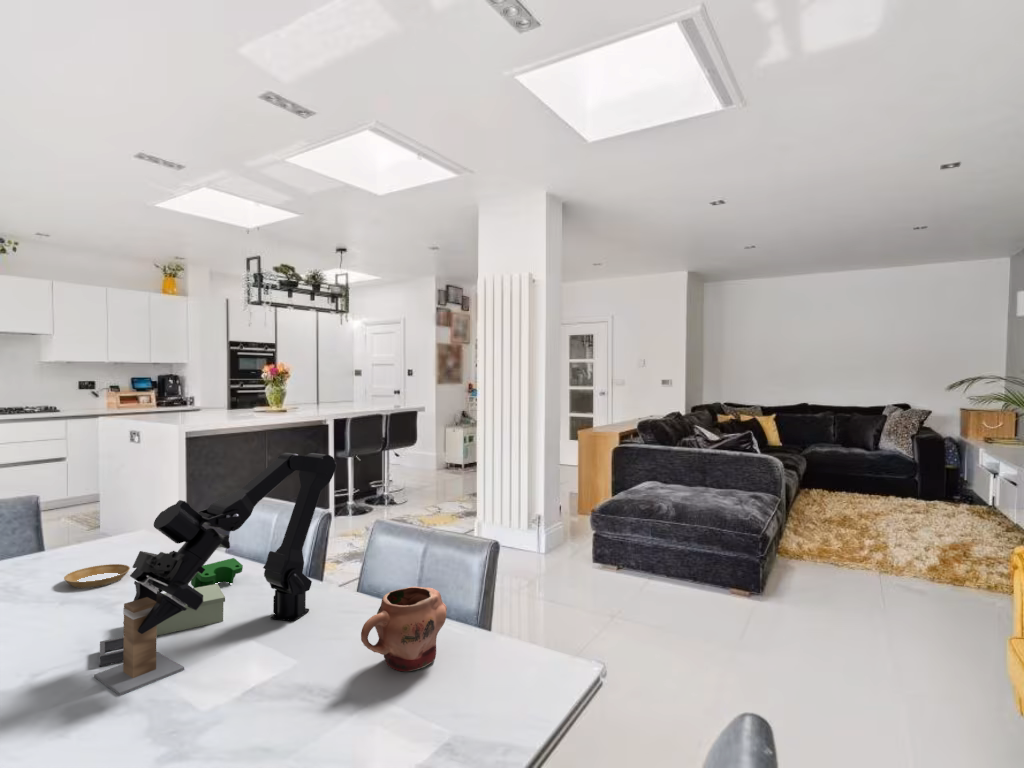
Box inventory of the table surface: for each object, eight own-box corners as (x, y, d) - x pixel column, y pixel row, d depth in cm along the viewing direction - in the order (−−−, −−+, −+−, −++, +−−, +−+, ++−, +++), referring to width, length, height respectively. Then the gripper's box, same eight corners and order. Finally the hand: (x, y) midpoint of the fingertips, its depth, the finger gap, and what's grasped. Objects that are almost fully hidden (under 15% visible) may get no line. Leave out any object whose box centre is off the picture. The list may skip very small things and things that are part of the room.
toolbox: (217, 606, 139) (217, 583, 139) (224, 621, 131) (225, 597, 130) (136, 622, 129) (136, 598, 129) (138, 640, 121) (139, 614, 121)
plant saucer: (73, 576, 159) (73, 567, 159) (134, 570, 165) (134, 561, 165) (55, 595, 146) (55, 585, 146) (123, 587, 152) (123, 577, 152)
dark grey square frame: (143, 641, 120) (143, 632, 120) (146, 655, 114) (146, 646, 114) (99, 651, 115) (99, 641, 115) (99, 666, 109) (99, 656, 109)
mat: (157, 653, 115) (157, 651, 115) (184, 669, 109) (184, 667, 109) (94, 677, 106) (94, 674, 106) (119, 695, 99) (119, 692, 99)
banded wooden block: (146, 662, 110) (147, 596, 110) (156, 669, 108) (157, 601, 108) (122, 671, 107) (123, 603, 106) (132, 678, 104) (133, 608, 104)
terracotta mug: (386, 697, 100) (387, 619, 100) (343, 675, 107) (344, 602, 107) (461, 654, 116) (461, 587, 116) (419, 637, 123) (420, 574, 123)
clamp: (206, 607, 149) (196, 582, 145) (196, 596, 153) (186, 572, 149) (249, 579, 158) (240, 555, 154) (238, 570, 161) (229, 546, 157)
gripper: (141, 526, 115) (76, 597, 106) (187, 542, 105) (119, 621, 96) (181, 555, 122) (123, 623, 113) (228, 572, 112) (168, 649, 103)
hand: (132, 628), depth 106 cm, fingers open, 6 cm apart
